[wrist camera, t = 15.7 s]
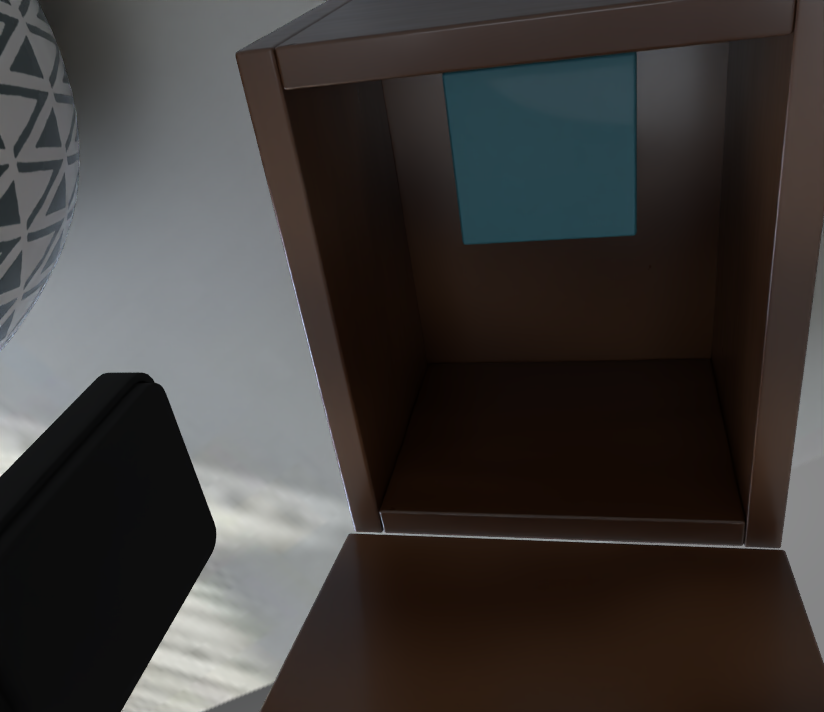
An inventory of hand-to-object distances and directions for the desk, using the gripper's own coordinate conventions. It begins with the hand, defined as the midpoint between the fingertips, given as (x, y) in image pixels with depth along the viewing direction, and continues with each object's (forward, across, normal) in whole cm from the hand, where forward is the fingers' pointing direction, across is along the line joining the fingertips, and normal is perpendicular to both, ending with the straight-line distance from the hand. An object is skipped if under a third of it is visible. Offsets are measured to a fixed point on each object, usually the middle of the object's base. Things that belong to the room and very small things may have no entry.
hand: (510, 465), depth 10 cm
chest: (+17, +1, +3) cm, 18 cm away
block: (+16, +1, 0) cm, 17 cm away
